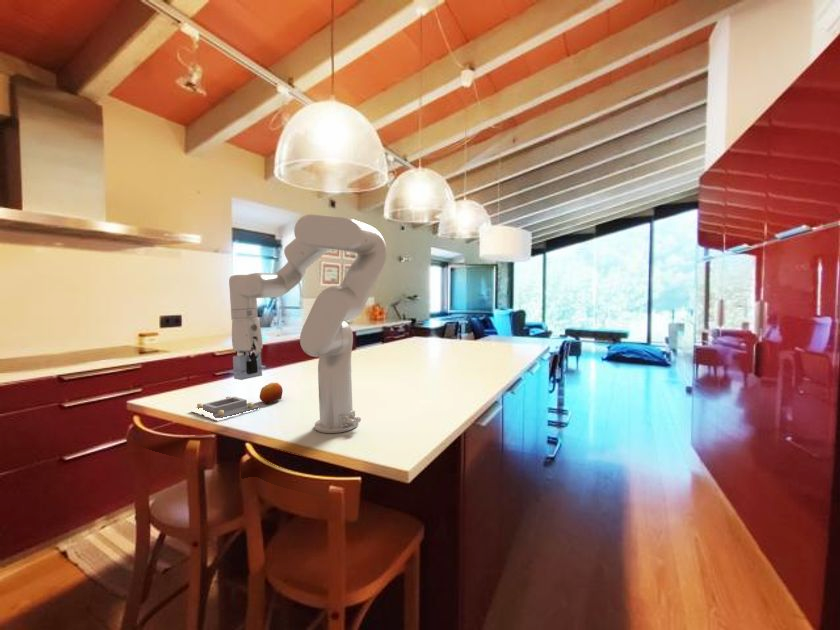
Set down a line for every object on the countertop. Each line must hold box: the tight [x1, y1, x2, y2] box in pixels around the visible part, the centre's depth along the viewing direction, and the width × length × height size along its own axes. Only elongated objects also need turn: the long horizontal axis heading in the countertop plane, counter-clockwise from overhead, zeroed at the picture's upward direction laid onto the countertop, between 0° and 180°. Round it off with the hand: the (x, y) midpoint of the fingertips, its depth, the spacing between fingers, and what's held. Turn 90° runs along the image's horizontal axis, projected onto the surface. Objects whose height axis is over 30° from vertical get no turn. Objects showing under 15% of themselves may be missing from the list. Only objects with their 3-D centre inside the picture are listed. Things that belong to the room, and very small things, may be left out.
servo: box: [228, 352, 267, 381], centre depth 123 cm, size 4×10×8 cm, turn 144°
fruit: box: [259, 382, 284, 404], centre depth 142 cm, size 8×8×8 cm
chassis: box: [196, 395, 260, 418], centre depth 133 cm, size 18×14×3 cm
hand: (248, 372), depth 123 cm, fingers closed on servo, 4 cm apart
